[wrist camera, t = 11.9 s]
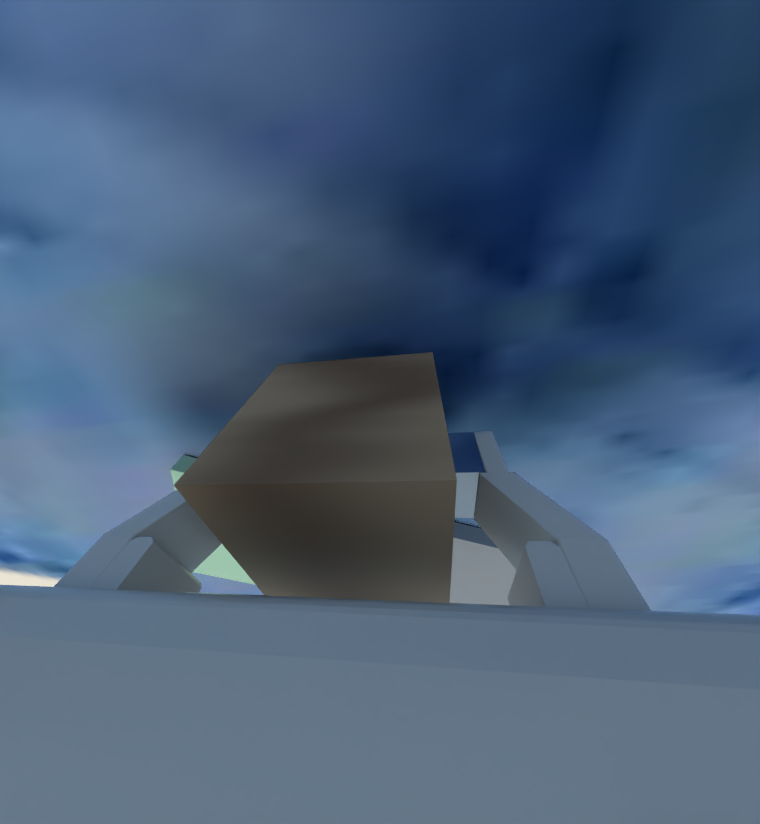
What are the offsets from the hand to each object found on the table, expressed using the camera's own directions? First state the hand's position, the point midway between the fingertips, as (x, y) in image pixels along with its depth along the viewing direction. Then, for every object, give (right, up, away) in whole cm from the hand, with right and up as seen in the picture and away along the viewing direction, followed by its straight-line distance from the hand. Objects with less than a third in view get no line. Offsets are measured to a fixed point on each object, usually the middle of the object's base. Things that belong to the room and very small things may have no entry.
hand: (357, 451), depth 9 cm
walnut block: (0, +1, +1) cm, 2 cm away
